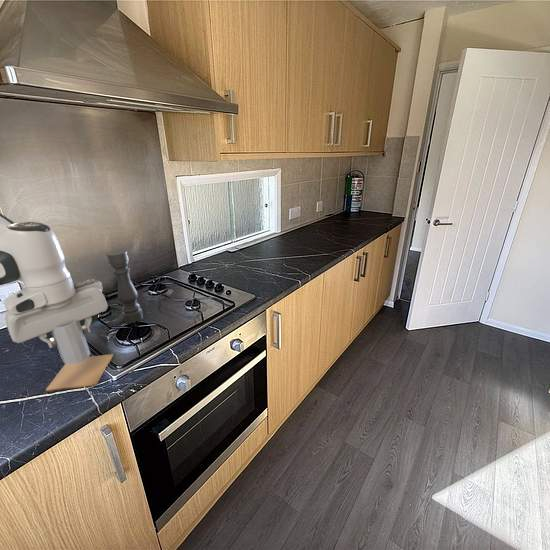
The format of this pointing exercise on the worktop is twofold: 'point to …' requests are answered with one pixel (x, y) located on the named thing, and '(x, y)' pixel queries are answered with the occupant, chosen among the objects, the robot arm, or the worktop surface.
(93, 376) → the mat
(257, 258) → the worktop surface
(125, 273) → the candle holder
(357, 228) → the worktop surface
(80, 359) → the cup
